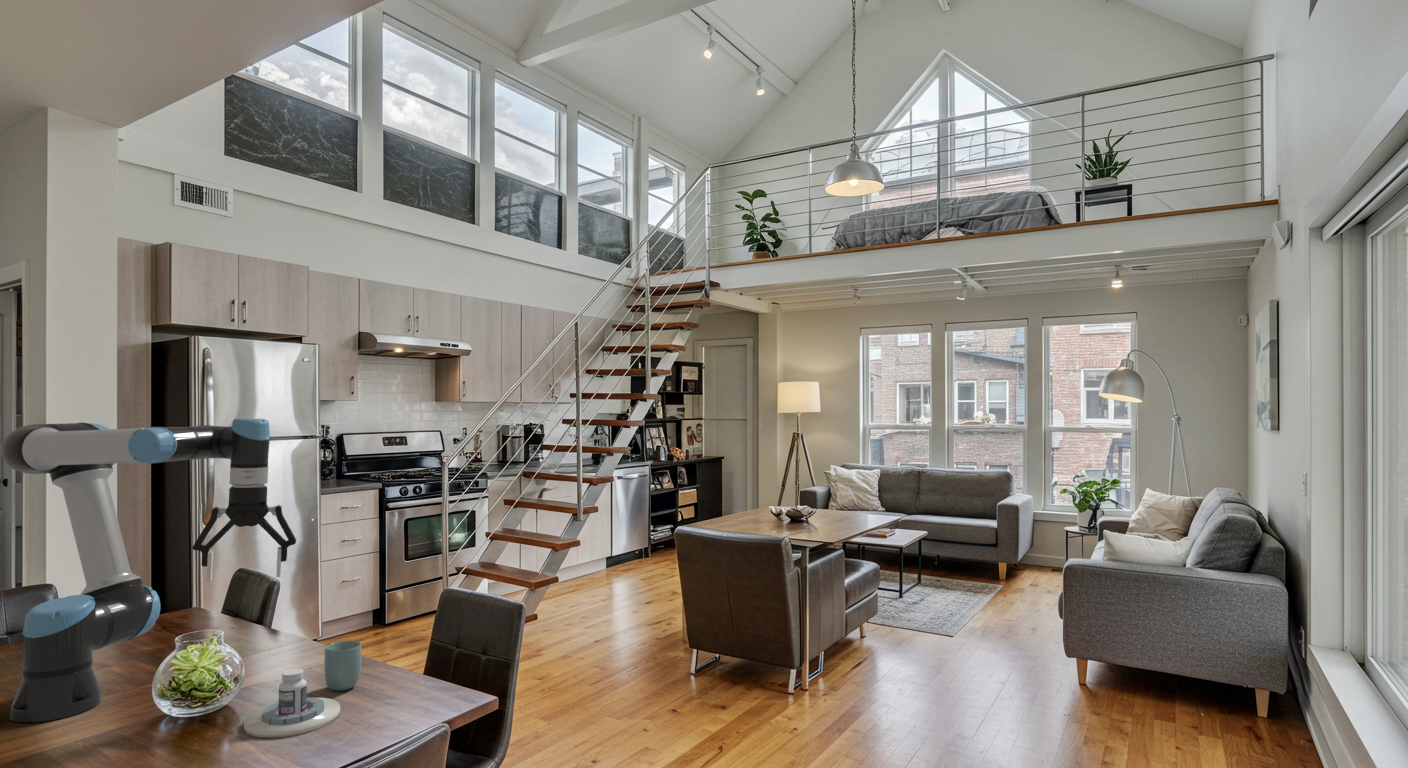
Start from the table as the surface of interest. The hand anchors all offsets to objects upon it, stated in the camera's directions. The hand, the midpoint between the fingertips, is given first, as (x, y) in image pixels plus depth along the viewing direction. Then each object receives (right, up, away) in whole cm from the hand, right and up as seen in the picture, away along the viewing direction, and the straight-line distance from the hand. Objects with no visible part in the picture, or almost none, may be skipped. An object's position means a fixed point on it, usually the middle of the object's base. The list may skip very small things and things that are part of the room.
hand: (244, 578), depth 172 cm
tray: (+18, -27, -13) cm, 35 cm away
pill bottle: (+18, -26, -13) cm, 34 cm away
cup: (+20, -28, +5) cm, 34 cm away
